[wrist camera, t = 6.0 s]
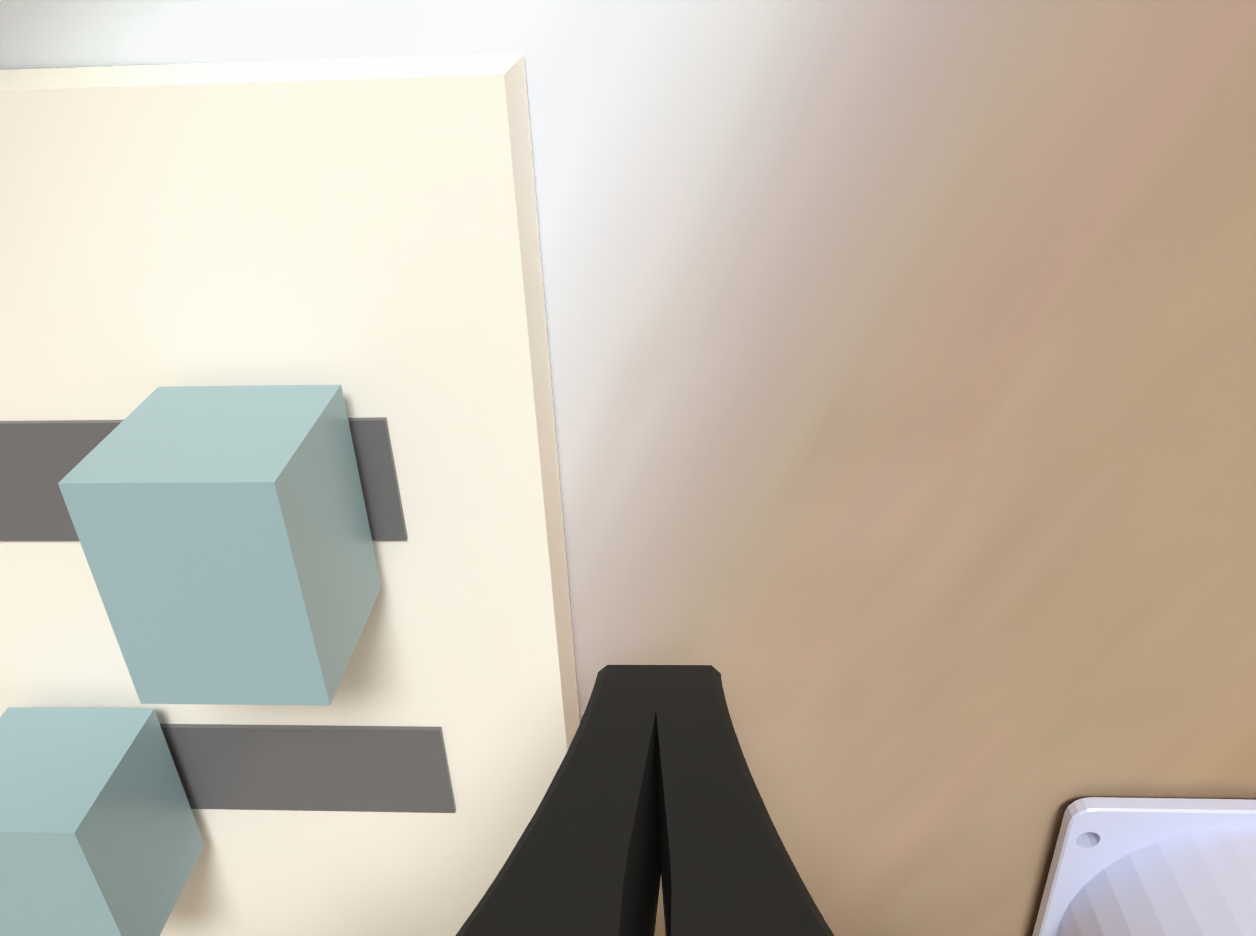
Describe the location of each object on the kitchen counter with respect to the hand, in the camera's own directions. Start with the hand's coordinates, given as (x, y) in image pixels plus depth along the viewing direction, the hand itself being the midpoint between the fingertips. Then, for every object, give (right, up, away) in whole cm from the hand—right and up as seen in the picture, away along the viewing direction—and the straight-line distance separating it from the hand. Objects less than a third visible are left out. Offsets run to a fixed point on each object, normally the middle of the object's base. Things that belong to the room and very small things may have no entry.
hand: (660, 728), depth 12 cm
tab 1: (-11, -3, +9) cm, 15 cm away
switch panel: (-9, +1, +9) cm, 13 cm away
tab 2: (-6, +3, +5) cm, 9 cm away
